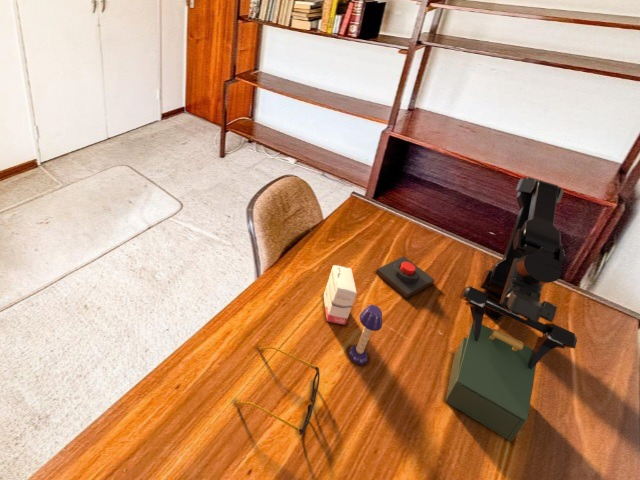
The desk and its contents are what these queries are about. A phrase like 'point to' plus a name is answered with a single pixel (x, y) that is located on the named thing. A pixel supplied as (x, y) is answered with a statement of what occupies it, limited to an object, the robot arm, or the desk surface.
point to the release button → (407, 268)
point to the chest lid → (498, 370)
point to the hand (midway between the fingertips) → (501, 354)
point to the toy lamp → (366, 332)
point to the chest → (480, 403)
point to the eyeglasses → (313, 399)
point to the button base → (404, 278)
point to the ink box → (339, 294)
